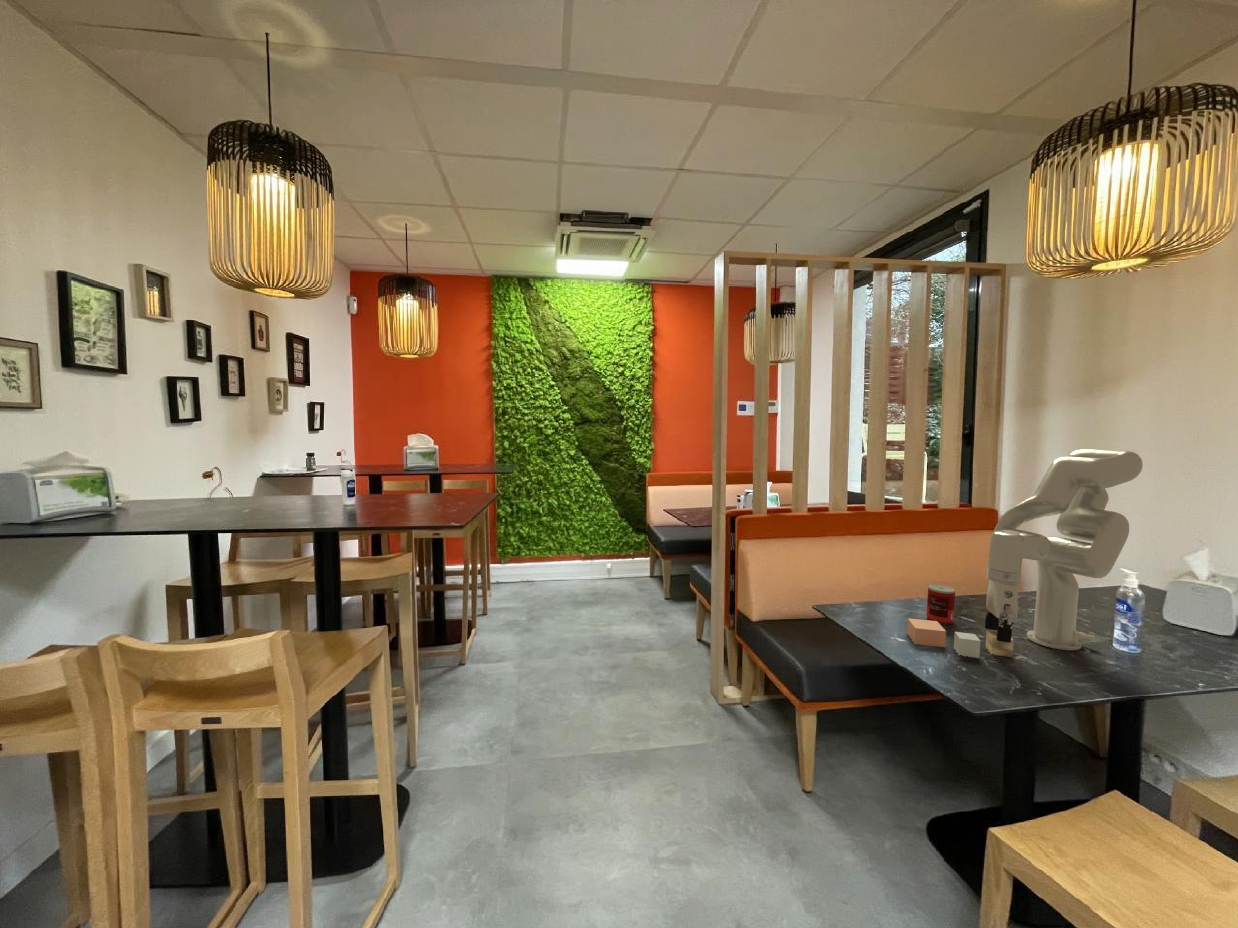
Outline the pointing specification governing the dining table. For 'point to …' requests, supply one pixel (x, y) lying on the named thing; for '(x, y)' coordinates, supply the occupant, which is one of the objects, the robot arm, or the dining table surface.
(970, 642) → the pale green-grey cube
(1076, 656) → the dining table surface
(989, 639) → the maple cube
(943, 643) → the terracotta block
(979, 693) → the dining table surface
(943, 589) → the canned food
